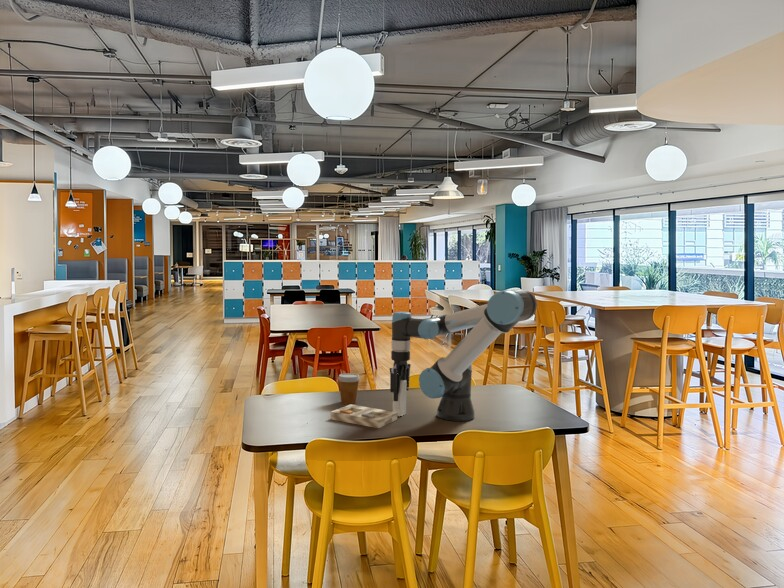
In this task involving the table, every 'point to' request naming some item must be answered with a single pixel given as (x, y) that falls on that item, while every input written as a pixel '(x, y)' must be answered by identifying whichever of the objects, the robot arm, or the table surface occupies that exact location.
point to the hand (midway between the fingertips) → (399, 407)
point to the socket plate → (364, 416)
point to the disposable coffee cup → (348, 387)
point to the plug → (402, 398)
